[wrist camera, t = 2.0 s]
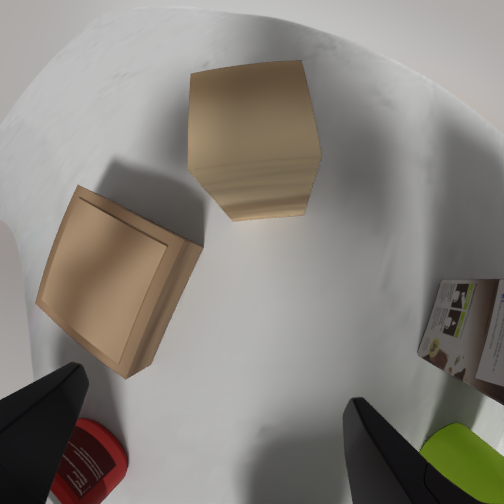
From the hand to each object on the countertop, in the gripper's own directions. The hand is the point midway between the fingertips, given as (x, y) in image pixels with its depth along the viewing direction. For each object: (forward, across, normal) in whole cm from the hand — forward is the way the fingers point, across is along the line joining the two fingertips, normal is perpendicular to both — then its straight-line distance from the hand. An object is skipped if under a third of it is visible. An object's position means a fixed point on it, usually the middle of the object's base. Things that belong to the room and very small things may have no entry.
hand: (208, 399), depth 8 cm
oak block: (+15, -1, -5) cm, 16 cm away
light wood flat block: (+13, +9, +3) cm, 16 cm away
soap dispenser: (+4, -20, +14) cm, 24 cm away
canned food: (+6, +13, +19) cm, 24 cm away
